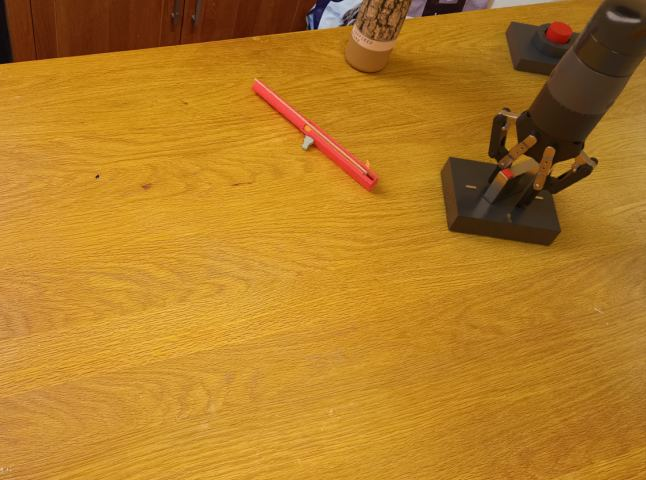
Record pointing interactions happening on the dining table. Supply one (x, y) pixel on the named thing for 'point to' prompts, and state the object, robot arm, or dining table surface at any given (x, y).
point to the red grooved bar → (319, 138)
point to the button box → (535, 48)
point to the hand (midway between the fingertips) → (507, 194)
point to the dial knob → (512, 180)
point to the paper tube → (375, 33)
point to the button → (559, 32)
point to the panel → (495, 206)
